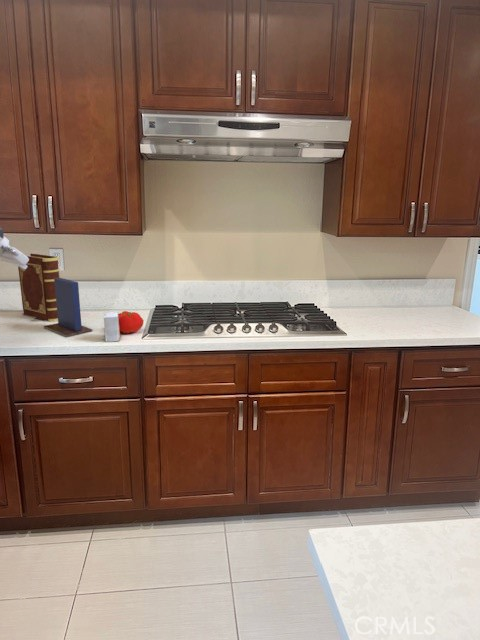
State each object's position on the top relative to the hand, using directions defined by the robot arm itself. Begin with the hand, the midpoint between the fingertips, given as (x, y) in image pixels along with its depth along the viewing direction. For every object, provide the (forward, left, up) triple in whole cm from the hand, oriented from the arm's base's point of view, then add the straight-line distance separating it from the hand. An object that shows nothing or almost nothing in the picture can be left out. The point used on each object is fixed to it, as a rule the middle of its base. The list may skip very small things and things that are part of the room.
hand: (24, 267), depth 188 cm
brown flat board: (+13, -9, -29) cm, 33 cm away
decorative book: (+30, +14, -30) cm, 44 cm away
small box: (+6, -34, -30) cm, 45 cm away
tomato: (+18, -36, -30) cm, 50 cm away
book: (+14, -9, -28) cm, 33 cm away
